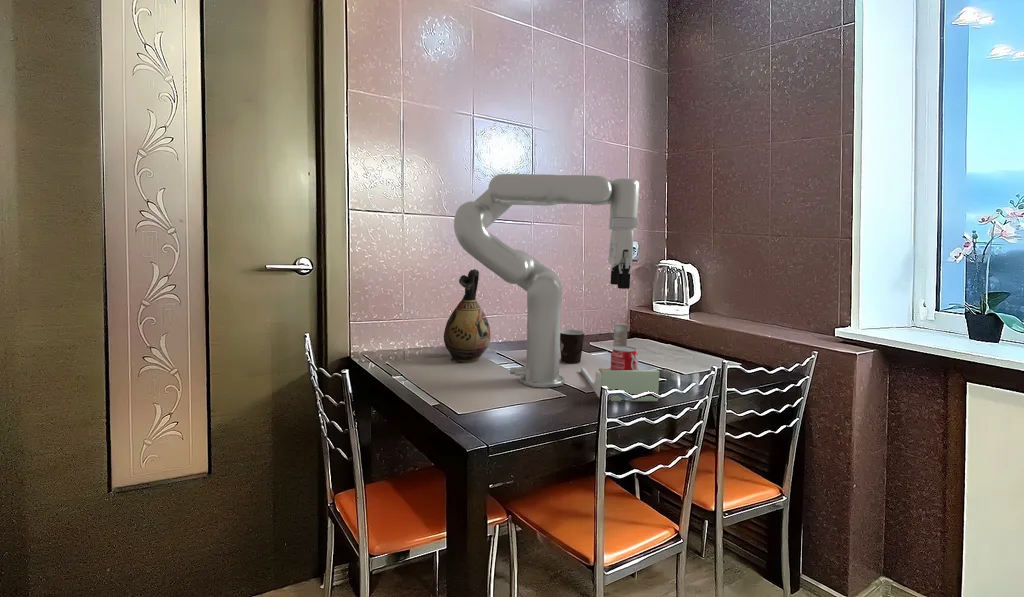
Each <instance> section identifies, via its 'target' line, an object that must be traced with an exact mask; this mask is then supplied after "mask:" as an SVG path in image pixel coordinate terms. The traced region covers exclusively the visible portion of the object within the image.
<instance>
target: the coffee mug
mask: <svg viewBox="0 0 1024 597" xmlns="http://www.w3.org/2000/svg"><path fill="white" fill-rule="evenodd" d="M585 333H586V332H585V331H583V330H579V329H560V362H561V363H564V364H567V365H571V364H572V365H573V364H574V365H576V364H580V363H581V359H582V354H583V347H584V342H585Z"/></svg>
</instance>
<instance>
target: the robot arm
mask: <svg viewBox="0 0 1024 597" xmlns="http://www.w3.org/2000/svg"><path fill="white" fill-rule="evenodd" d="M490 179H491V180H490V181H489V183H488V188H487V189H486V190H485V191H484V192H483V193H481V195H480V196H479V197H477V198H476V199H474V201H472V200H471V201H470V200H469V201H466V202H464V203H462V204H461V205H460V206H459V207H458V208H457V210H456V212H455V214H454V219H453V229H454V234H455V237H456V240H457V241H458V244H459V245H460V246H461V248H462V249H463V250H464V251H465V252H466V253H467V254H468V255H469V256H471V257H472V258H473V259H475V260H476V261H478V262H479V263H481V265H483V266H484V267H486V268H487V269H488V270H490V271H491V272H493V273H494V274H496V275H497V276H498V277H500V279H502V280H503V281H504V282H506V283H508V284H510V285H517V286H518V287H520V288H521V289H522V290H525V291H526V307H527V312H526V313H527V314H526V315H527V316H526V318H527V320H526V356H525V357H526V363H525V364H524V366H520V367H509V368H510V370H509V372H510V373H509V374H510V375H514V376H518V377H520V382H521V383H522V384H524V385H526V386H529V387H533V388H544V389H545V388H556V387H560V386H562V385H563V384H564V383H565V378H564V377H563V376H562V375H560V357H561V352H560V330H561V323H562V322H561V321H562V320H561V318H562V317H561V316H562V299H563V298H562V297H563V296H562V295H563V293H562V292H563V283H562V280H561V277H560V276H559V275H558V274H557V273H556V272H555V271H553V270H552V269H550V268H549V267H547V266H546V265H544V264H543V263H541V262H540V261H539V260H537V259H536V258H534V256H531V255H530V254H529V253H528V252H525V251H523V250H521V249H514V248H512V247H511V246H509V245H507V244H506V243H505V242H503V241H502V240H500V238H498V237H497V236H495V235H493V234H492V233H490V232H489V231H488V230H487V228H488V227H490V226H491V225H492V224H494V222H496V220H498V219H499V218H500V217H501V216H502V215H503V214H504V213H505V212H507V211H508V210H509V209H510V208H511V207H513V206H540V207H543V206H544V207H547V206H548V207H550V206H554V205H555V206H556V205H563V204H564V205H566V204H567V205H569V204H570V205H571V204H572V205H574V204H575V205H577V204H578V205H591V206H605V205H609V206H610V207H609V208H610V209H609V220H608V221H609V224H608V225H609V226H608V230H611V232H610V239H609V247H608V248H609V249H608V261H607V262H608V264H609V265H611V267H610V268H611V270H610V281H609V282H610V285H614V286H615V285H617V289H623V290H624V289H625V290H629V289H630V287H631V266H632V264H633V258H634V231H637V230H638V214H639V199H640V182H639V180H637V179H636V178H616V179H613V180H610V179H608V178H606V177H604V176H602V175H592V174H591V175H589V174H586V175H585V174H582V175H581V174H580V175H579V174H571V175H570V174H543V173H541V174H538V173H537V174H533V173H532V174H531V173H530V174H529V173H526V174H525V173H500V174H499V173H498V174H495V176H493V177H492V178H490Z"/></svg>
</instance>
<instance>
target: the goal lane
mask: <svg viewBox="0 0 1024 597" xmlns="http://www.w3.org/2000/svg"><path fill="white" fill-rule="evenodd" d="M580 372H581V373H582V375H583V377H584V378H585V379H586V381H587V380H588V381H587V383H588V384H589V383H590V384H589V386H590V387H591V386H592V387H591V388H592V390H593V391H594V393H595V394H596V396H597V398H599V395H600V387H601V386H607V387H608V388H609V389H612V390H615V389H618V390H624V391H626V392H627V393H630V394H640V393H643V392H648V391H649V392H654V393H656V394H658V395H659V386H660V384H659V383H660V371H659V370H650V369H649V370H640V369H638V370H602V373H601V372H600V371H599V370H595V380H594V379H593V378H592V376H591V375H590V373H589V372H588V370H587V369H586V368H585V367H581V370H580ZM621 400H622V398H621V397H619V396H613V397H612V398H611V401H610V402H622V401H621ZM658 400H659V397H658V398H655V397H653V396H645V397H641V398H638V399H636V400H630V401H629V402H658Z"/></svg>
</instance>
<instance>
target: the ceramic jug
mask: <svg viewBox="0 0 1024 597" xmlns="http://www.w3.org/2000/svg"><path fill="white" fill-rule="evenodd" d="M479 279H480V271H479V270H478V269H470V270H469V271H468V273H467V275H465V274H463V275H461V276H460V277H459V280H458V283H459V284H460V286H462V287H463V288H464V295H463V297H462V299H461V300H460V301H459V303H458V304H457V305H456V307H455V308H454V310H453V311H452V312H451V314H450V316H449V317H448V319H447V321H446V324H445V328H444V331H443V342H444V346H445V348H446V350H447V351H448V353H449V354H450V356H451V361H453V362H455V363H459V364H460V363H475V362H476V363H477V362H478V361H479V360H480V358H481V357H482V356H483V354H484V353H485V352H486V351H487V349H488V348H489V345H490V343H491V336H492V334H491V327H490V323H489V320H488V318H487V317H486V314H485V313H484V311H483V308H482V307H481V306H480V304H479V302H478V301H477V297H476V296H477V291H478V285H479Z"/></svg>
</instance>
